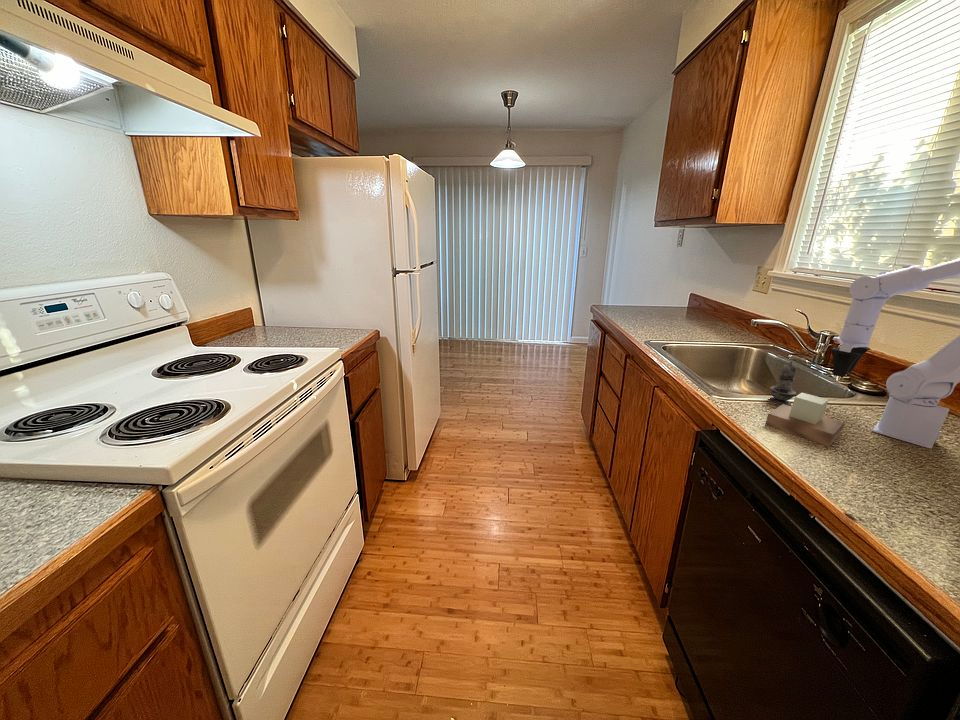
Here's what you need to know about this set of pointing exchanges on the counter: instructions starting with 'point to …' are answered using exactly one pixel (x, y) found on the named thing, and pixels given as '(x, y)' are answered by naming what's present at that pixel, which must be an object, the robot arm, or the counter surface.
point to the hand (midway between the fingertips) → (842, 373)
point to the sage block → (808, 408)
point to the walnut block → (805, 426)
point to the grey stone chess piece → (784, 386)
